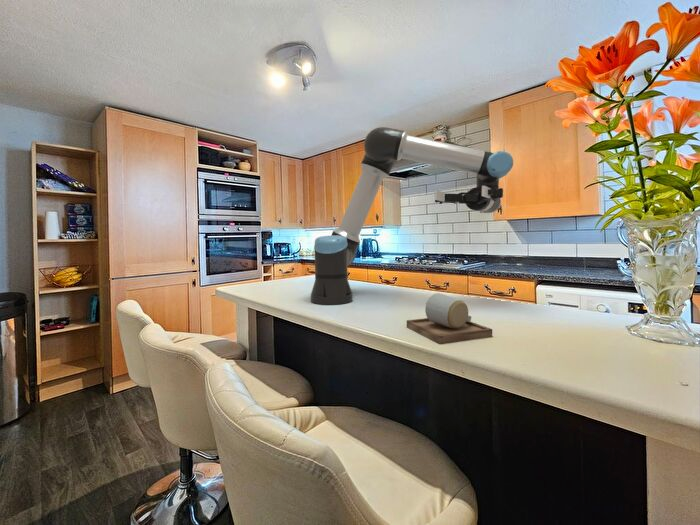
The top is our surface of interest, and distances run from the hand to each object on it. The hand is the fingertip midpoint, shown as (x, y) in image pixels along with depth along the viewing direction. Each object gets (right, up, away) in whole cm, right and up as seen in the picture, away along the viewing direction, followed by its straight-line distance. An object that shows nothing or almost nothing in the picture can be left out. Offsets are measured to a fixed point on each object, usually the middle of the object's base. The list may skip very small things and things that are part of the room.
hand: (458, 192), depth 91 cm
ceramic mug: (-6, -35, -14) cm, 38 cm away
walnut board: (-8, -36, -15) cm, 40 cm away
